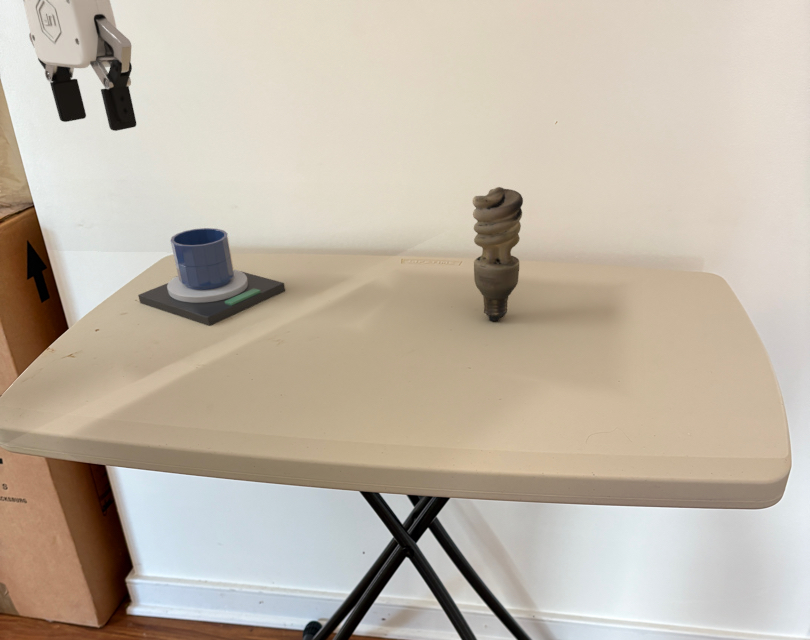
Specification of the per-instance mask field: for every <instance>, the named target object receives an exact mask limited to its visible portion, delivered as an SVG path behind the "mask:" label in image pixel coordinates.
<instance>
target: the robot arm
mask: <svg viewBox="0 0 810 640" xmlns="http://www.w3.org/2000/svg"><path fill="white" fill-rule="evenodd" d="M23 6H24V10H25V14H26V20H27V24H28V28H29V31H30V32H29V34H28V35H29V40H30V42H31V44H32V46H33V49H34V52H35V54H36V57H37V60H38V62H39V64H40V65H41V67H42V68H43V69H44V75H45V78H46V80H47V81H48V83H49V84H50V88H51V92H52V95H53V99H54V104H55V107H56V110H57V114H58V119H59V120H60V121H61V122H64V123H67V122H72V121H78V120H83V119H86V117H87V113H86V108H85V106H84V101H83V96H82V93H81V89H80V85H79V81H78V79H77V78H73V76H74V71H75V69H86V68H88V67H89V66H91V68H92V69H93V71H94V73H95V74H96V76H97V77H98V79H99V80H100V82H101V84H102V86H103V87H104V88H101V89H100V92H101V97H102V102H103V106H104V109H105V110H104V111H105V113H106V118H107V123H108V128H109V129H110V130H111V131H115V132H117V131H122V130H127V129H132V128H136V126H137V119H136V114H135V110H134V104H133V100H132V96H131V92H130V86H131V85H132V79H131V77H130V76H131V72H132V69H133V66H132V63H131V62H132V42H131V41H130V39H129V38H128V37H127V36H126V35H125V34H123V33H122V32H121V31H120V30H119V29H118V28H117V24H116V20H115V16H114V11H113V7H112V3H111V0H23ZM107 68H109V70H107Z"/></svg>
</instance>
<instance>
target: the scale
mask: <svg viewBox="0 0 810 640" xmlns="http://www.w3.org/2000/svg"><path fill="white" fill-rule="evenodd" d="M284 292H286V286H285V282H283V281H279V280H275V279H272V278H268V277H264V276H260V275H256V274H253V273H249V272H246V271H242V270H239V269H235V268H234V277H232V278H231V281H230V282H229V283H228V284H226V285H224V286H222V287H219V288H215V289H209V290H195V289H190V288H187V287H186V286H185V285H184V284H182V283H181V282H180V281H179V277H178V275H177V276H175V277H173V278H171V280H169V281H168V282H167V283H165V284H161V285H159V286H157V287H154V288H152V289H149V290H147V291H145V292H142V293H140V294H138V295H137V296H138V300H139V304H142V305H144V306H148V307H150V308H154V309H157V310H160V311H163V312H165V313H169V314H172V315H175V316H178V317H181V318H184V319H186V320H189V321H193V322H195V323H199V324H202V325H205V326H207V327H208V326H209V327H211V326H213V325H215V324H217V323H219V322H222V321H224V320H226V319H229V318H231V317H233V316H235V315H237V314H239V313H242V312H243V311H245V310H248V309H250V308H252V307H254V306H256V305H258V304H261V303H263V302H265V301H267V300H269V299H271V298H274V297H276V296H279V295H280V294H283V293H284Z"/></svg>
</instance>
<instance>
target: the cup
mask: <svg viewBox="0 0 810 640" xmlns="http://www.w3.org/2000/svg"><path fill="white" fill-rule="evenodd" d="M170 246H171V250H172V254H173V258H174V263H175V267H176V274H177V276H178V277H179V281H180V282H181V283H182V284H184V285H185V286H186V287H187V288H190V289H195V290H209V289H215V288H219V287H222V286H224V285H226V284H228V283H229V282H230V281H231V278H232V277H234V269H235V268H234V263H233V258H232V251H231V246H230V240H229V234H228V233H227V231H226V230H223V229H220V228H213V227H203V228H201V227H200V228H193V229H188V230H183V231H181V232H178V233H176V234H174V235H173V236H171V238H170Z"/></svg>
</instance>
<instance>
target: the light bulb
mask: <svg viewBox="0 0 810 640" xmlns="http://www.w3.org/2000/svg"><path fill="white" fill-rule="evenodd" d="M523 204H524V197H523V196H522V194H521V193H520V192H518V191H516V190H514V189H509V188H504V187H502V186H498V187H495V188H491V189H489V190H488V193H487V194H486V195H475V196H473V198H472V205H473V206H474V208H475V209H474V210H473V211H472V212H473V213H472V215H473V219H474V220H476V221H477V222H475V224H473V230H474V232H475V233H477V234H476V235H475V236H474V239H473V242H474V244H475V245H476V246H478V247H480V248H482V254H481V255H480V256H478V257H476V258H475V259H474V261H473V278H474V279H473V280H474V283H475V286H476V288H477V289H478V290H479V293H480V294H481V295H482V297H483V314H485V315H486V316H487V317H488V321H490V322H499V321H500V319H502V318H504V317H505V316H506V314H508V301H509V296H510V295H511V294H512V293H513V291H514V290H515V289H516V287H517V285H518V283H519V277H520V275H519V274H520V260H519V258H518V257H516V256H514V255H512V253H511V252H512V249H513V248H514V247H516V246H517V245H518V243H519V242H520V236H519V235H520V231H521V228H522V227H521V226H522V224H521V222H520V221H521V219H522V217H523V210H522V206H523Z"/></svg>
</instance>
